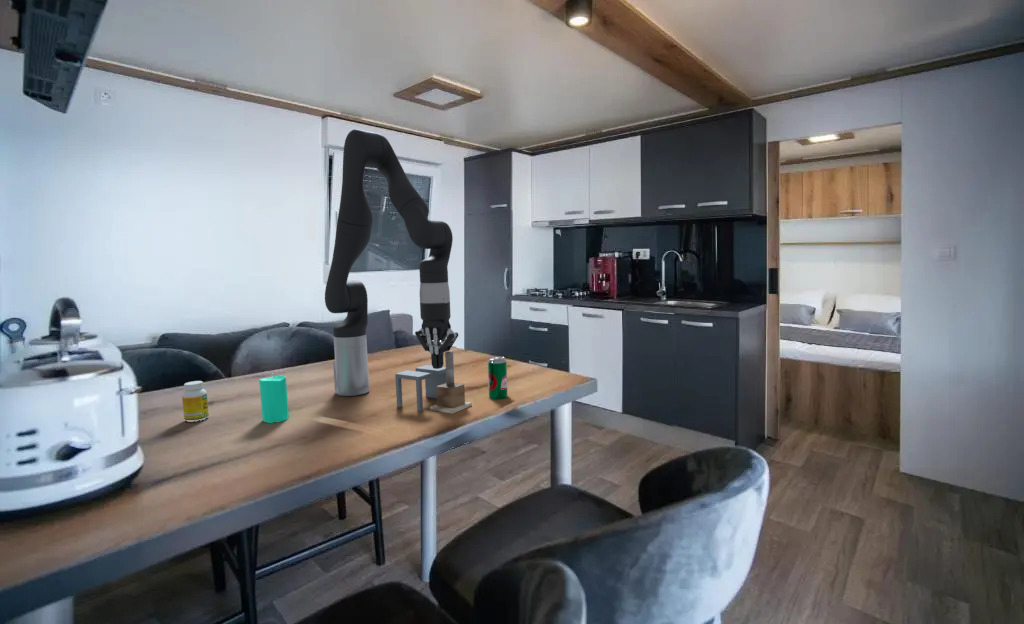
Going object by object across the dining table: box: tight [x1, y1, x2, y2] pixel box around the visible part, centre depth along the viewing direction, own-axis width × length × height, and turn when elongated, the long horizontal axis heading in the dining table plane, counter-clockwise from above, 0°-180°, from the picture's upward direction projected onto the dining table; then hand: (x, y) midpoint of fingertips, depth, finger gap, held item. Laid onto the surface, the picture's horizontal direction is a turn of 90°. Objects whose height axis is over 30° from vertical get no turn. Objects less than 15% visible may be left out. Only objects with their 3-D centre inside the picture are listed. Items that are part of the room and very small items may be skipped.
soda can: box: [487, 356, 509, 400], centre depth 138 cm, size 5×5×12 cm
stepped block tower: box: [429, 351, 473, 415], centre depth 129 cm, size 7×8×14 cm
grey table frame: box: [394, 364, 446, 412], centre depth 135 cm, size 27×14×10 cm, turn 58°
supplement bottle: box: [181, 380, 210, 420], centre depth 129 cm, size 5×5×10 cm
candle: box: [258, 372, 290, 424], centre depth 127 cm, size 6×6×12 cm
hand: (437, 368), depth 130 cm, fingers closed
